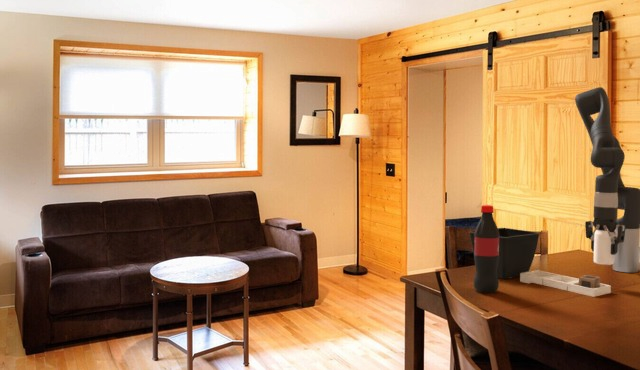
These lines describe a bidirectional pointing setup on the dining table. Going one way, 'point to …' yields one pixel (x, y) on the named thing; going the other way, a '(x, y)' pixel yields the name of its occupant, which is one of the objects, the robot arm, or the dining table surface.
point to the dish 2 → (559, 281)
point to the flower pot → (514, 251)
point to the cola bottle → (486, 252)
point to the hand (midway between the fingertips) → (604, 252)
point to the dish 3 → (589, 289)
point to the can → (602, 248)
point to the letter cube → (589, 281)
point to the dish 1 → (535, 276)
